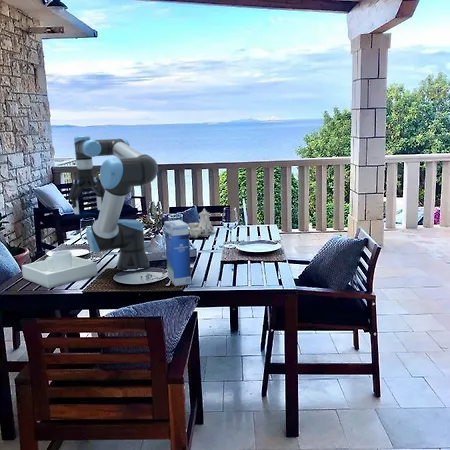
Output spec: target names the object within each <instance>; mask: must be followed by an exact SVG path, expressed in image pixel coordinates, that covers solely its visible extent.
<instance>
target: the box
mask: <svg viewBox="0 0 450 450" xmlns="http://www.w3.org/2000/svg"><path fill="white" fill-rule="evenodd" d="M72 264H73V268H70V269H66V270H62V271H58V272H49V271H47V270H46V268H45V259H44V260H41V261H36V262H31V263H28V264H27V263H26V264H21V271H22V279H25V280H26V281H29V282H32V283H35V284H37V285H39V286H42V287H45V288H47V289H51V288H55V287H59V286H62V285H66V284H71V283H74V282H77V281H81V280H85V279H88V278H92V277H96V276H98V263H97V261H92V260H89V259H86V258H82V257H78V256H75V255H72ZM47 267H48V268H49V269H54V266H53V259H48V261H47Z"/></svg>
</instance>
